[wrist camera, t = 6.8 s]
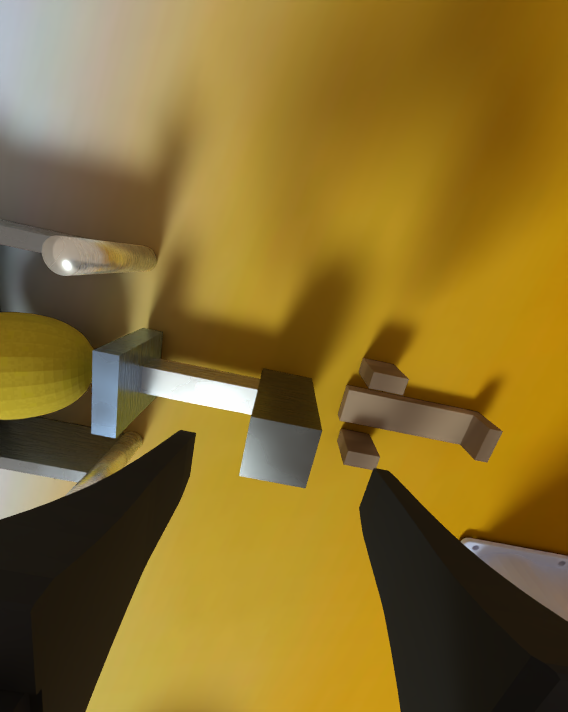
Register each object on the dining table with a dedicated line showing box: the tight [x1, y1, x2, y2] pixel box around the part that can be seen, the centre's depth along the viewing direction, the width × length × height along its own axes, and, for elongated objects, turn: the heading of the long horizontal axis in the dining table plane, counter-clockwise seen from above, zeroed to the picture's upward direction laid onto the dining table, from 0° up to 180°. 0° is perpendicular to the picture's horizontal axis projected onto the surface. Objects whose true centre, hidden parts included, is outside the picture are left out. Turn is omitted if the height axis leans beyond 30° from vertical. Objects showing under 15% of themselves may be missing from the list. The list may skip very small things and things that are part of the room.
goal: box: [0, 219, 157, 496], centre depth 16 cm, size 10×14×6 cm
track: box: [337, 358, 503, 470], centre depth 18 cm, size 9×6×2 cm
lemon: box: [0, 312, 94, 420], centre depth 15 cm, size 6×6×8 cm
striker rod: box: [91, 328, 322, 488], centre depth 16 cm, size 11×4×7 cm, turn 78°
